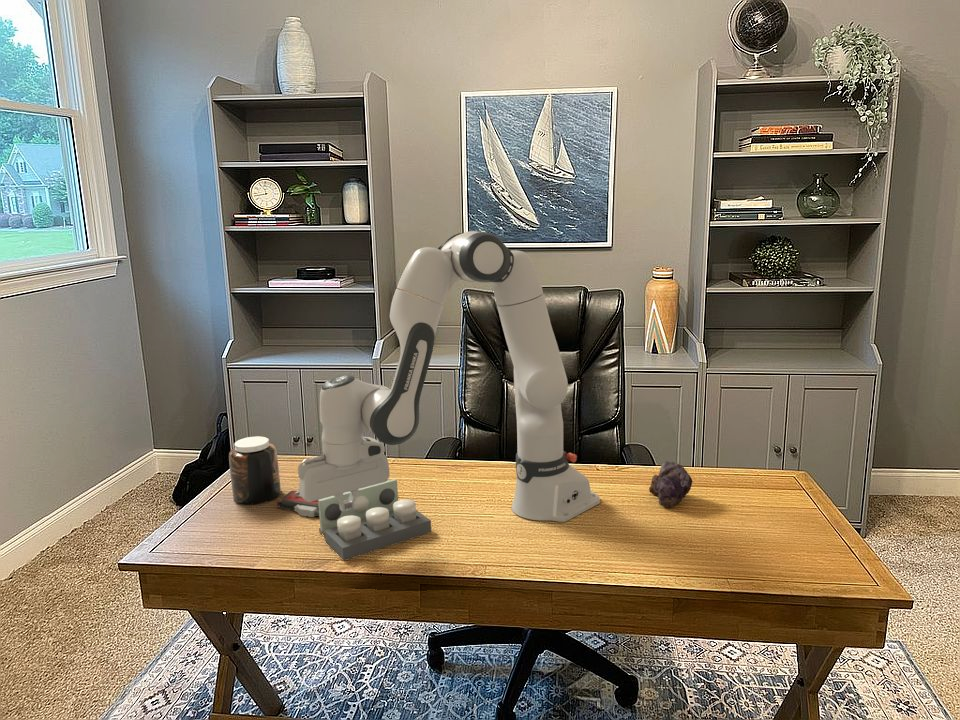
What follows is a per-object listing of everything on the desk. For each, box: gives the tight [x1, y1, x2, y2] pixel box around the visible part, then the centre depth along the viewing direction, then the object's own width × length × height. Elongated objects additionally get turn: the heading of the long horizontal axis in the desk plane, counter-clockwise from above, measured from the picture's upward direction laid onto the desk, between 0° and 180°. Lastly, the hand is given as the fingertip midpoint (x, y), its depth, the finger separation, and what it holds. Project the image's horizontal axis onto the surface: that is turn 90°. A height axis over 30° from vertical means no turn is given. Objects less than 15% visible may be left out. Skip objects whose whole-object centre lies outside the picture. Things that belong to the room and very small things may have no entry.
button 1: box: [337, 515, 361, 542], centre depth 169 cm, size 5×5×4 cm
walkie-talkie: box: [276, 490, 319, 518], centre depth 188 cm, size 9×4×20 cm
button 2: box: [393, 499, 417, 524], centre depth 176 cm, size 5×5×4 cm
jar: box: [228, 435, 282, 506], centre depth 196 cm, size 12×12×15 cm
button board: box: [324, 509, 432, 561], centre depth 173 cm, size 22×10×3 cm, turn 124°
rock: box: [648, 460, 693, 509], centre depth 188 cm, size 12×9×10 cm
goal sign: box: [318, 478, 399, 537], centre depth 180 cm, size 20×3×8 cm, turn 124°
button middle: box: [366, 507, 389, 533], centre depth 172 cm, size 5×5×4 cm
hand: (347, 508), depth 167 cm, fingers closed
